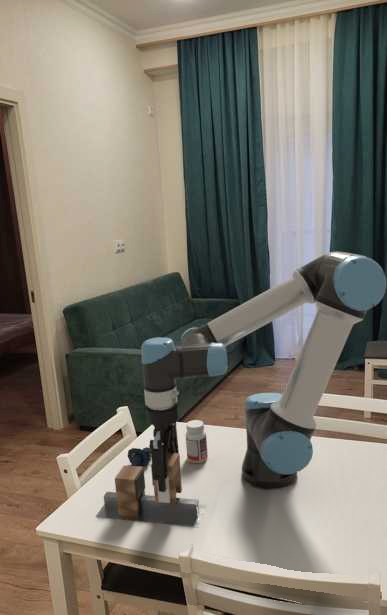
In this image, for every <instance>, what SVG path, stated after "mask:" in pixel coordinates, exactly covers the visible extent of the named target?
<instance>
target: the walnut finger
mask: <svg viewBox="0 0 387 615" xmlns="http://www.w3.org/2000/svg"><path fill="white" fill-rule="evenodd" d="M180 458H181V456H180V453H167V476H169V488H170V503H164V502H159V500H158V488H157V480H153V477H152V476H153V473H152V472H151V479H152V480H151V481H152V486H153V492H154V496H155V503H161V504H172V505H175V504H176V502H177V499H176V498H177V494H182V491H183V487H182V484H183V483H182V474H181V459H180ZM150 467H151V469H150V470H151V471H152V464H150Z"/></svg>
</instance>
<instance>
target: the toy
mask: <svg viewBox="0 0 387 615" xmlns="http://www.w3.org/2000/svg"><path fill="white" fill-rule="evenodd" d="M127 458H128V460H129V463H130V464H131V465H130V466H138V467H147V466H148V465H149V463H150V460H151V458H152V456H151V447H150V444H149V445H148V447H147V446H146V447H143V448H142V449H141V448H138V447H136V448H135V447H132V448H130V449H128V452H127Z"/></svg>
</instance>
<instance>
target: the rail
mask: <svg viewBox="0 0 387 615" xmlns="http://www.w3.org/2000/svg"><path fill="white" fill-rule="evenodd" d="M176 499H177V502H176V504H175V505H172V504H161V503H155V495H152V494H151V495H149V494H145V495H141V496H140V498H139V500H138V505H139V516H138V517H131V516H121V515H118V505H117V496H116V491H115V492H113V491H106V492H105V493H104V495H103V505H102V507H101V508H100V509H99V511H98V512H97V514H96V515H95V518H101V519H109V520H120V521H128V522H129V521H131V522H139V523H149V524H159V525H168V526H177V527H179V526H181V527H187V528H188V527H189V528H197V529H198V528H199V526H200V524H201V520H202V519H203V515H204V514H205V510H206V507H207V504H205V503H200V501H199V499H194V498H184V497H176Z"/></svg>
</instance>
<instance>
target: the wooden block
mask: <svg viewBox="0 0 387 615" xmlns="http://www.w3.org/2000/svg"><path fill="white" fill-rule="evenodd" d="M143 467H144V466H132V465H123V466H122V467H121V469H120V470H119V471H118V473H117V474H116V476H115V478H114V485H115V486H114V487H115V492H116V496H117V505H118V515H121V516H131V517H138V516H139V505H138V500H139V498H140V496H141V495H146V481H145V480H146V479H145V470H144V468H143Z"/></svg>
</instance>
